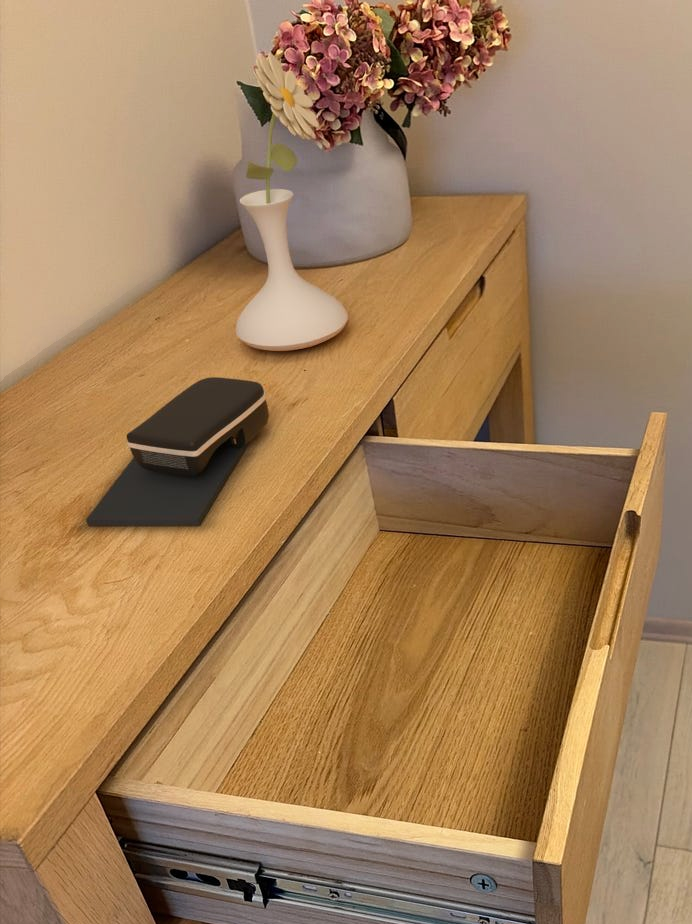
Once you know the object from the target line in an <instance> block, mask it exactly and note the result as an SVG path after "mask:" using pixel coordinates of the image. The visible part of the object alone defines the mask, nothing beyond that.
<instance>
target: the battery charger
mask: <svg viewBox="0 0 692 924" xmlns="http://www.w3.org/2000/svg"><path fill="white" fill-rule="evenodd" d="M269 418H270V412H269V407H268V402H267V393H266V390H265V389H264V387H263V385H262V384H261V383H259V382H257V381H253V380H246V379H237V378H230V377H217V376H212V377H211V376H210V377H205V378H202V379H200V380H198V381H196V382H194V383H193V384H191V385H190V386H188V387H187V388H186V389H184V390H183V391H182V392H180V393H178V394H177V395H175V396H174V397H173V398H172V399H170V401H168V402H167V403H165V404H164V405H163V406H162V407H161V408H160V409H158V410H157V411H156V412H155V413H153V414H152V415H151V416H150V417H148V418H147V419H146V420H145V421H143V422H142V423H140V424H139V425H138V426H136V427H134V429H132V430H131V431H129V432H128V433H127V434H126V435H125V437H126V445H127V447H128V448H129V449H130V452H131V454H132V457H133V458H134V459H135V460H136V462H137V463H138V464H139V465H140V466H141V467H142V468H144V469H147V470H151V471H157V472H163V473H169V474H176V475H183V476H192V477H195V476H198V475H199V474H200V473H201V472H202V471H203V470H204V468H205V467H206V465H207V463H208V461H209V459H210V457H211V456H212V454H213V453H214V451H215V450H216V449H217V448H218V447H219V446H220V445H224V446H232V447H243V446H244V445H246V444H247V443H248V442H250V443H251V441H252V440H253V439H254V438H255V437H256V436H257V435H258V434H259V433H260V432H261V431H262V430H263V429H264V428H265V427H266V425H267V424H268V422H269Z"/></svg>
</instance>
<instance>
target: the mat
mask: <svg viewBox="0 0 692 924" xmlns="http://www.w3.org/2000/svg"><path fill="white" fill-rule="evenodd" d="M250 443H251V441H250V442H248V443H247V444H246V445H244V446H243V447H232V446H224V445H220V446H219V447H218V448H217V449H216V450H215V451H214V453H213V454H212V456H211V457H210V459H209V461H208V463H207V465H206V467H205V468H204V470H203V471H202V472H201V473H200V474H199V475H198V476H195V477H192V476H183V475H176V474H169V473H163V472H157V471H151V470H147V469H144V468H142V467H141V466H140V465H139V464H138V463H137V462H136V460H135V459H134V457H133V458H132V459H131V460H130V462H129V463H128V464H127V465H126V466H125V468H124V469H123V470H122V472H121V473H120V474H119V476H118V477H117V478H116V480H115V481H114V482H113V484H112V485H111V486H110V487H109V489H108V490H107V492H105V494H104V495H103V497H102V498H101V499H100V501H99V502H98V503H97V505H96V506H95V507H94V508H93V510H92V511H91V513H89V515H88V516H87V517H86V519H85V522H86V524H87V526H88V527H200V526H201V524H202V523H203V521H204V520H205V518H206V516H207V514H208V513H209V511H210V510H211V508H212V506H213V505H214V503H215V501H216V500H217V499H218V496H219V494H220V493H221V491H222V490H223V488H224V487H225V485H226V483H227V481H228V479H229V478H230V476H231V475H232V473H233V471H234V470H235V468H236V467H237V464H238V463H239V462H240V460H241V458H242V456H243V455H244V453H245V451H246V450H247V448H248V446H249V445H250Z"/></svg>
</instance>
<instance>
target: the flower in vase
mask: <svg viewBox="0 0 692 924" xmlns="http://www.w3.org/2000/svg"><path fill="white" fill-rule="evenodd" d="M257 57H258V58H257V59H256V60H255V65H256V67H257V68H255V69H254V72H255V74H256V77H257V78H258V79H257V84H258V86H259V88H260V89H261V91H262V95H263V97H264V99H265V100H266V102H267V103H268V104H269V105H270V110H271V112H272V115H271V119H270V124H269V129H268V135H267V136H268V137H267V153H266V155H267V156H266V166H263V165H259V164H256V163H254V162H252V161H248V164H247V168H246V173H245V177H246V178H247V179H249V180H250V179H251V180H260V181H262V180H263V181H264V180H265V189H262V190H258V191H253V192H250V193H247V194H245V195H243V196H242V197H240V199H239V203H240V205H242V206H243V208H245V209H246V211H247V212H248V213H249V214H250V216H251V217H252V220H254V222H255V225H256V226H257V229H258V231H259V233H260V237H261V240H262V243H263V246H264V250H265V254H266V255H265V256H266V260H267V267H268V268H267V270H268V274H267V279H266V281H265V282H264V285H263V286H262V287H261V289H260V290H259V291H258V292H257V293H256V294H255V296H253V297H252V299H251V300H250V301H249V302H248V303H247V305H246V306H245V307H244V308H243V309H242V312H241V313H240V315H239V316H238V318H237V319H236V325H235V335H236V336H237V338H238V339H239V340H240V341H241V342H242V343H244V344H245V345H246V346H248V347H250V348H254V349H257V350H263V351H271V352H273V351H274V352H288V351H289V352H290V351H295V350H296V351H298V350H301V349H307V348H310V347H314V346H316V345H319V344H322V343H324V342H326V341H328V340H331V339H332V338H334V337H335V336H337V335H338V334H340V333H341V332H342V330H343V329H344V328H345V326H346V324H347V321H348V319H349V314H348V312H347V310H346V308H345V307H344V305H343V303H341V302H340V301H339V300H338V299H336V298H335V297H334V296H333V295H331V294H329V293H328V292H326V291H325V290H322V289H321V288H319V287H318V286H316V285H314V284H312V283H311V282H308V281H307V280H305V279H304V278H303V277H301V276H300V275H299V274H298V272H297V271H296V269H295V267H294V265H293V262H292V258H291V253H290V249H289V243H288V242H289V241H288V231H287V219H288V218H287V217H288V212H289V211H288V210H289V208H290V207H289V206H290V204H291V201H292V199H293V197H294V192H293V191H291V190H290V189H285V188H284V189H283V188H271V177H272V175H273V173H274V171H275V169H274V168H272V167H271V166H272V165H271V163H272V162H273V163H274V164H275V165H276V166H277V167H279V168H280V169H281V170H283V171H284V172H290V171H293V169H294V168H295V167H296V166H297V161H298V157H297V156H296V154H295V152H294V151H293V150H292V149H291V148H290V147H288V146H287V145H285V144H283V143H279V142H276V143H274V144H273V145H272V142H273V141H272V140H273V133H274V126H275V123H276V119H278V120H279V121H280V123H281V124H282V125H283V126H285V127H287V130H288V131H289V133H290V134H292V136H293V137H296V136H299V138H300V139H302V140H306V139H307V140H308V141H311V140H312V139H315V140H316V139H317V136H316V134H315V132H314V130H313V129H312V128H316V129H319V128H320V123H319V122H318V118H317V115H316V114H315V112H314V111H313V110H311V109H310V108H312V107H314V101H313V100H312V98H311V97H310V96H309V95H308V94H305V91H304V88H303V87H302V86H301V85H299V84H298V83H297V76H296V74H295V72H294V71H293V70H291V69H289V70H287V71H286V70H283V67H282V64H281V63H280V61H279V59H278V58H276V57H275V55H274V54H273V53H271V52H268V54H267V57H265V56H264V55H263V53H261V52H259V53H258V54H257Z"/></svg>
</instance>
